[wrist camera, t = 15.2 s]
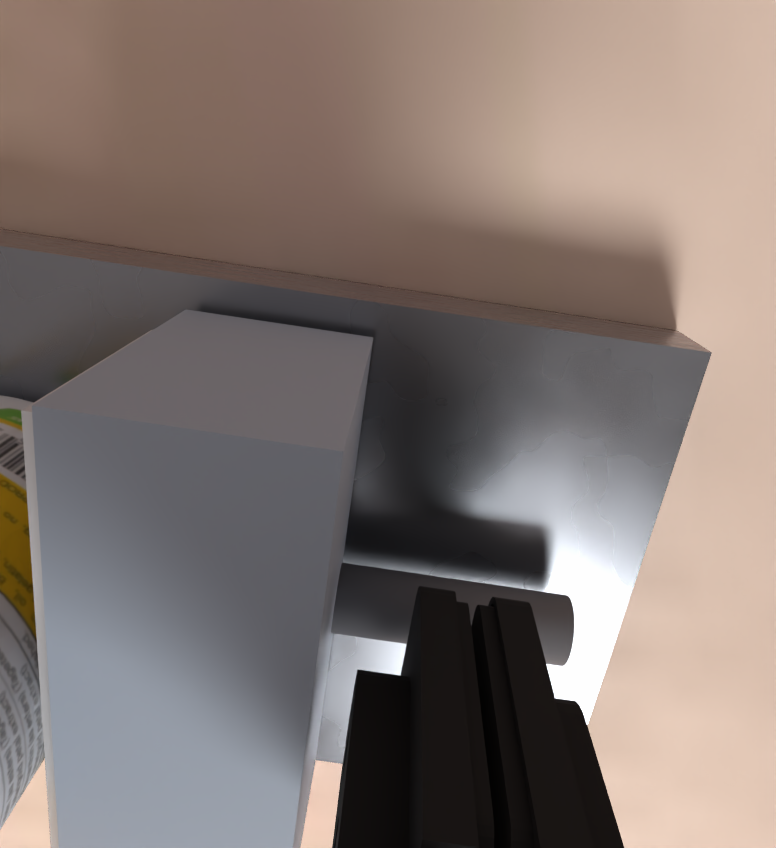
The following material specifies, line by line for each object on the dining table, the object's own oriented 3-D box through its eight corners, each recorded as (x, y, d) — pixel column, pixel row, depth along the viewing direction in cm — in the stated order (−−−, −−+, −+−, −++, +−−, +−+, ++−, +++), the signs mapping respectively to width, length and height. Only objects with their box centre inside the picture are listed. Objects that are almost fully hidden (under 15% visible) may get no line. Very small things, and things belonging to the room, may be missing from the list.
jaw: (620, 374, 11) (753, 512, 6) (505, 781, 14) (543, 1047, 10) (160, 305, 10) (-10, 399, 6) (154, 731, 14) (39, 978, 10)
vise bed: (677, 330, 12) (900, 473, 6) (551, 739, 16) (624, 1055, 10) (-311, 182, 12) (-956, 198, 6) (-206, 631, 16) (-556, 892, 10)
